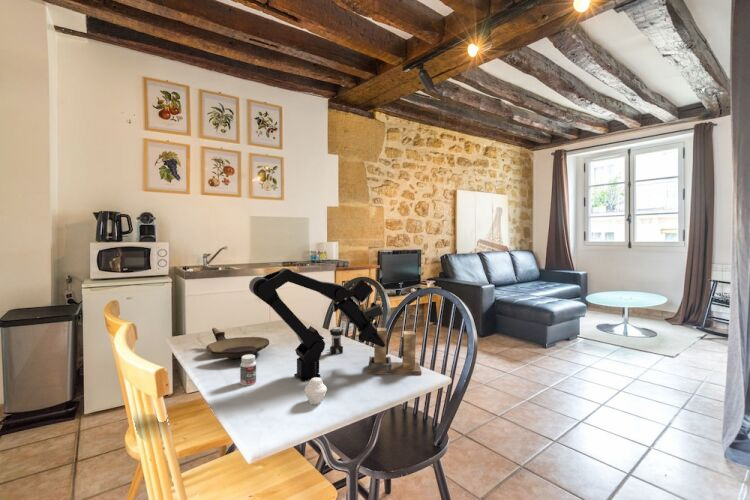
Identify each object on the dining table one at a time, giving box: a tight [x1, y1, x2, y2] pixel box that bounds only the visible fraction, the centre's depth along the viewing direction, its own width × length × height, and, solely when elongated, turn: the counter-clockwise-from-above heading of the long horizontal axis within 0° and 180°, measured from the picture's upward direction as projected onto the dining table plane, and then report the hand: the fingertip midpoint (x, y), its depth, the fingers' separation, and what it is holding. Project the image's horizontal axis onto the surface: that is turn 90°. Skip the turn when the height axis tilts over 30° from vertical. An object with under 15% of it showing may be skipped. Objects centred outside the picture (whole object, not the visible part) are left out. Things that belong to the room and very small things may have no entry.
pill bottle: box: [239, 354, 257, 387], centre depth 111 cm, size 5×5×8 cm
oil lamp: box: [206, 327, 270, 359], centre depth 138 cm, size 22×30×8 cm
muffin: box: [304, 377, 328, 406], centre depth 99 cm, size 6×6×7 cm
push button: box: [325, 326, 344, 355], centre depth 140 cm, size 7×5×10 cm
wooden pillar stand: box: [367, 330, 422, 376], centre depth 124 cm, size 18×8×13 cm, turn 90°
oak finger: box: [373, 327, 389, 364], centre depth 123 cm, size 5×4×12 cm
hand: (384, 344), depth 123 cm, fingers open, 4 cm apart
